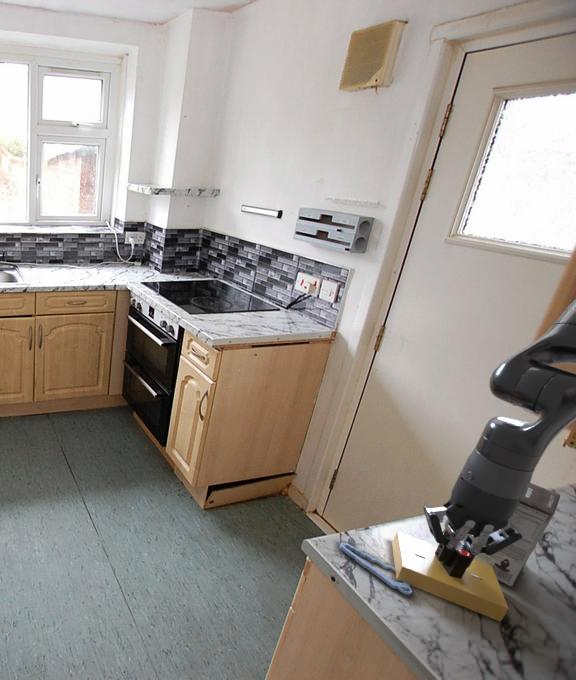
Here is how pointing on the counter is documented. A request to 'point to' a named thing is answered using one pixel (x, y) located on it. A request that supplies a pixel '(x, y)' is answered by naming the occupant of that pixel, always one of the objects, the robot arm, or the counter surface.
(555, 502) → the coffee box
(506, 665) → the counter surface
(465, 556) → the lock knob
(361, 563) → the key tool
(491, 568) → the tan flat wooden block
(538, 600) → the counter surface
